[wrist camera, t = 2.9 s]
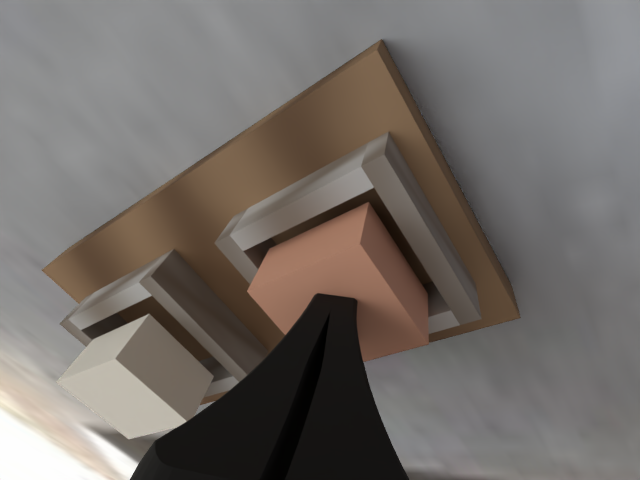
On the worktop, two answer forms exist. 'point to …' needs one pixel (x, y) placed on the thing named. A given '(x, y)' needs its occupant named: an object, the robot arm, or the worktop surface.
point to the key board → (287, 224)
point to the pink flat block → (347, 281)
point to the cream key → (138, 379)
